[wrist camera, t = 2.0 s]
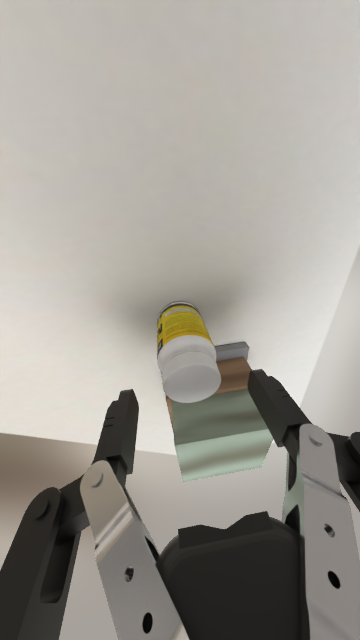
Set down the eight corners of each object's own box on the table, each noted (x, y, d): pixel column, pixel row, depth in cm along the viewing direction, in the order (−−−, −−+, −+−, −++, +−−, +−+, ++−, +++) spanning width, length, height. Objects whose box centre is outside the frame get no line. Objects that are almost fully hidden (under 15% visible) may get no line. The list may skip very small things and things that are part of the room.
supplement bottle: (152, 305, 17) (148, 368, 10) (197, 296, 17) (226, 351, 10) (163, 341, 20) (166, 412, 12) (202, 333, 20) (228, 398, 12)
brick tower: (164, 369, 20) (168, 444, 14) (243, 356, 21) (285, 423, 14) (173, 414, 26) (179, 484, 19) (236, 403, 26) (264, 468, 19)
